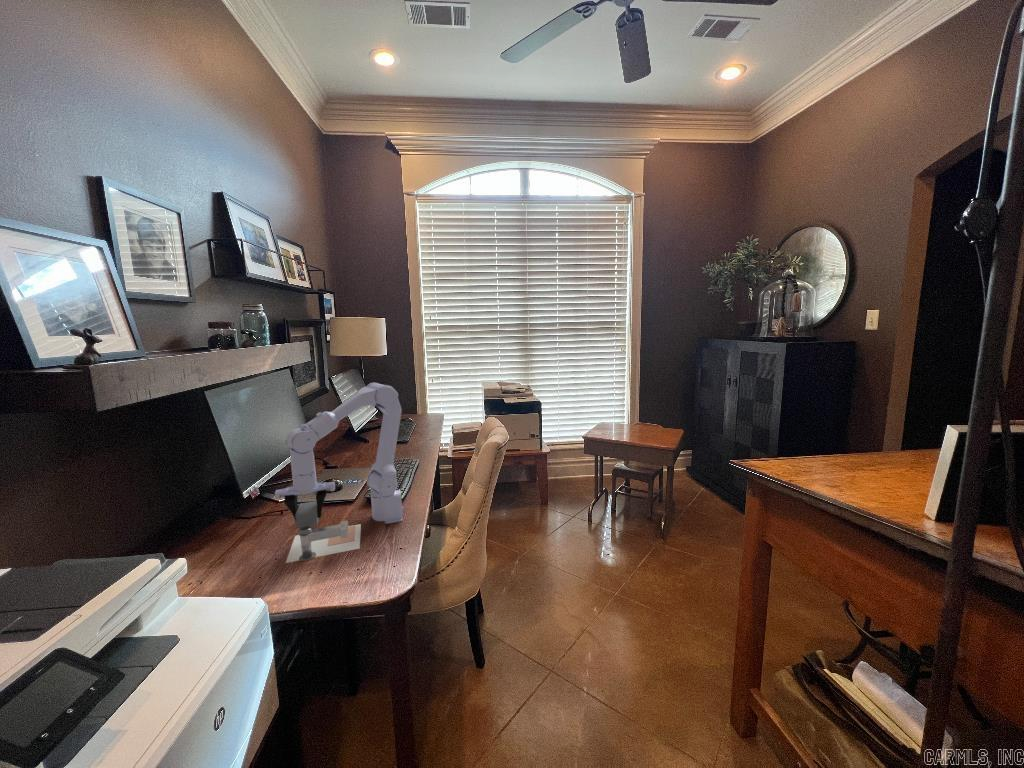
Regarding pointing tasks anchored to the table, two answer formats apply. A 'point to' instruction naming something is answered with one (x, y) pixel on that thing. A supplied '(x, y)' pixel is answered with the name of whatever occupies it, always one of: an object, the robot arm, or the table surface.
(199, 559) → the table surface
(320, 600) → the table surface
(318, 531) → the latch
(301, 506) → the grey rectangular block
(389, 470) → the robot arm
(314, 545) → the board
